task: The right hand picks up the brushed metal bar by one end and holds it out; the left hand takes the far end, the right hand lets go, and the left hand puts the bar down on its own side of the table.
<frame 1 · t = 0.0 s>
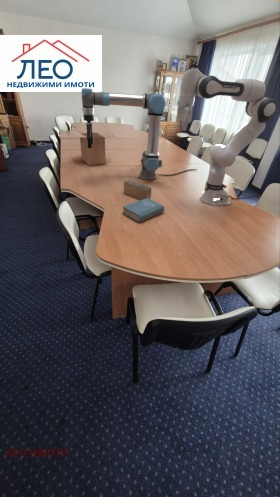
left hand: (90, 145, 173), 28 cm above the table, tool pointing down, fingers open, 13 cm apart
right hand: (182, 129, 139), 48 cm above the table, tool pointing down, fingers open, 8 cm apart
bar: (136, 196, 169), on the table
book: (143, 213, 147), on the table
laser sight: (151, 165, 239), on the table
box: (93, 161, 237), on the table
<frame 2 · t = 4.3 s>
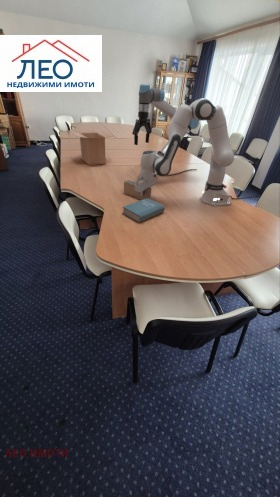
left hand: (141, 143, 169), 33 cm above the table, tool pointing down, fingers open, 13 cm apart
right hand: (144, 194, 163), 4 cm above the table, tool pointing down, fingers closed on bar, 5 cm apart
bar: (136, 196, 169), on the table, touching right hand
everything else where it was.
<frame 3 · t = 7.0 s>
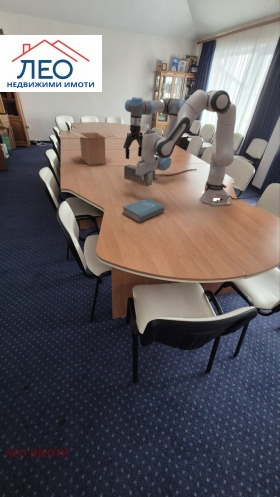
left hand: (133, 157, 162), 26 cm above the table, tool pointing down, fingers open, 13 cm apart
right hand: (146, 178, 156), 16 cm above the table, tool pointing down, fingers closed on bar, 5 cm apart
bar: (137, 181, 162), point 12 cm above the table, touching right hand
everything else where it was.
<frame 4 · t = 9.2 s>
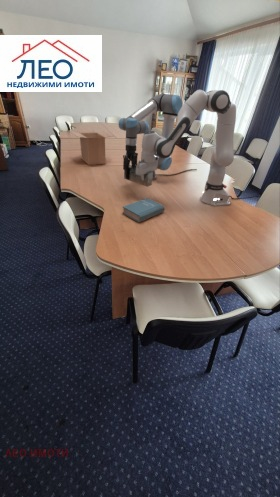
left hand: (129, 178, 165), 12 cm above the table, tool pointing down, fingers closed on bar, 5 cm apart
right hand: (146, 178, 156), 16 cm above the table, tool pointing down, fingers closed on bar, 5 cm apart
bar: (137, 181, 162), point 12 cm above the table, touching left hand, right hand
everything else where it was.
when the right hand's fingers open (16 cm above the table, at t = 10.1 s): bar stays where it is, held by the left hand.
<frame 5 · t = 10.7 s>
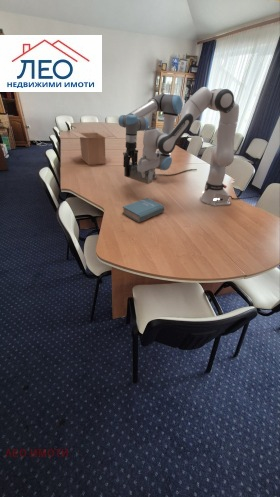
left hand: (130, 175, 164), 14 cm above the table, tool pointing down, fingers closed on bar, 5 cm apart
right hand: (147, 175, 154), 18 cm above the table, tool pointing down, fingers open, 8 cm apart
bar: (137, 179, 161), point 14 cm above the table, touching left hand
everything else where it was.
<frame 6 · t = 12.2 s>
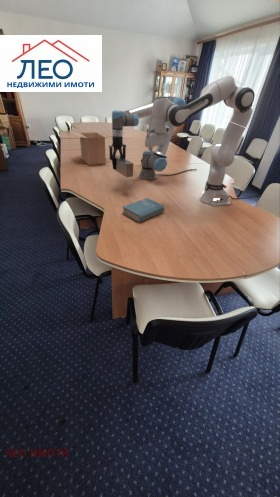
left hand: (117, 168, 172), 15 cm above the table, tool pointing down, fingers closed on bar, 5 cm apart
right hand: (155, 153, 142), 34 cm above the table, tool pointing down, fingers open, 8 cm apart
bar: (122, 172, 168), point 15 cm above the table, touching left hand
everything else where it was.
when the left hand's fingers open (2 cm above the table, at t = 15.4 s): bar drops 2 cm, on the table.
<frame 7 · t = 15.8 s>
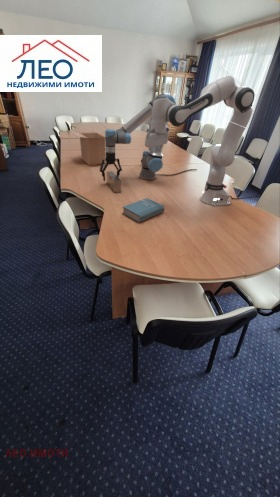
left hand: (111, 179, 184), 4 cm above the table, tool pointing down, fingers open, 11 cm apart
right hand: (155, 153, 142), 34 cm above the table, tool pointing down, fingers open, 8 cm apart
bar: (113, 187, 181), on the table
everything else where it was.
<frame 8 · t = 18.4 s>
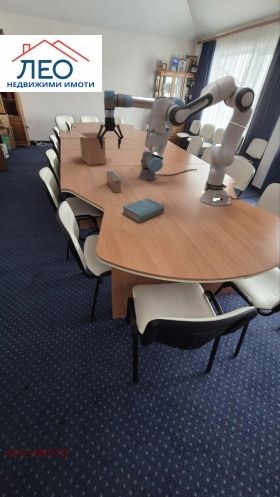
left hand: (110, 148, 170), 28 cm above the table, tool pointing down, fingers open, 13 cm apart
right hand: (155, 153, 142), 34 cm above the table, tool pointing down, fingers open, 8 cm apart
nothing on the table moved.
at the end: bar inside the target area (7.4 cm from its centre), on the table; the left hand is holding nothing; the right hand is holding nothing; bar at rest at the end (0.0 cm/s) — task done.
